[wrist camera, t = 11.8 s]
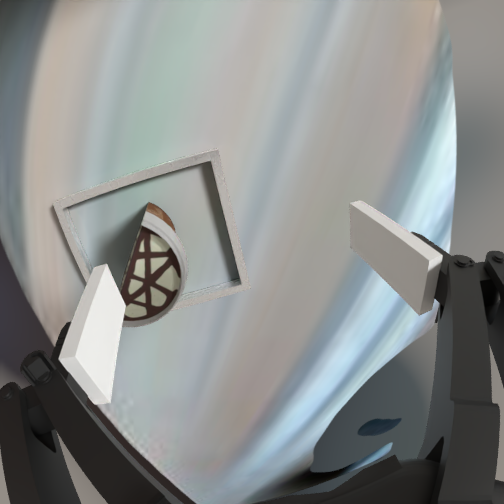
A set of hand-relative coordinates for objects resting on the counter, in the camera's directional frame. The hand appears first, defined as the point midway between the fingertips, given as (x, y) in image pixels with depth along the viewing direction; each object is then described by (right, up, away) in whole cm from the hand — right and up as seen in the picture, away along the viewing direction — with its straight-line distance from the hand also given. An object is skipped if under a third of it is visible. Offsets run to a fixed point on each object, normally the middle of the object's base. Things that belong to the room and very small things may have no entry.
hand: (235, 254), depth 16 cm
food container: (-10, +1, +21) cm, 23 cm away
